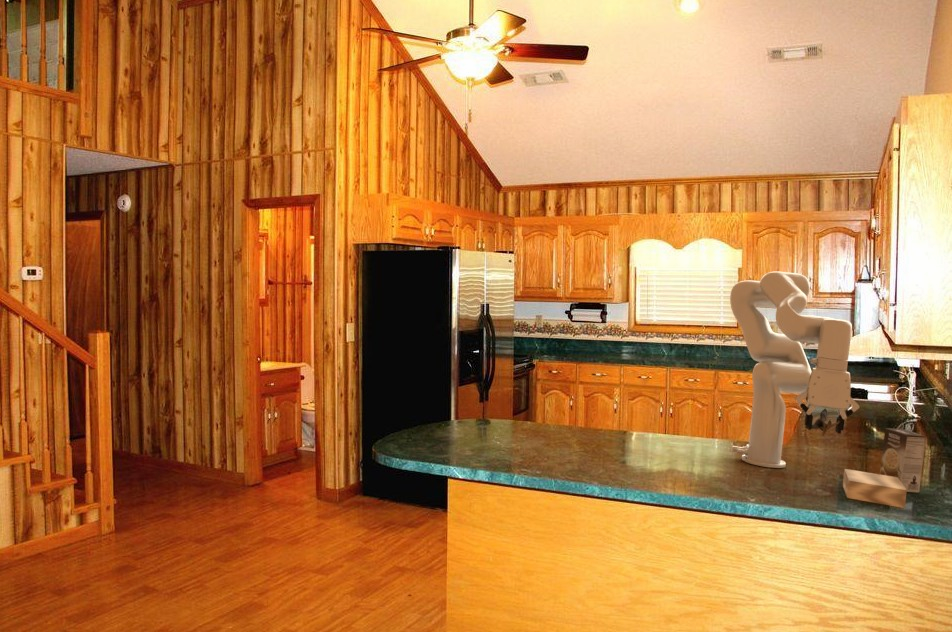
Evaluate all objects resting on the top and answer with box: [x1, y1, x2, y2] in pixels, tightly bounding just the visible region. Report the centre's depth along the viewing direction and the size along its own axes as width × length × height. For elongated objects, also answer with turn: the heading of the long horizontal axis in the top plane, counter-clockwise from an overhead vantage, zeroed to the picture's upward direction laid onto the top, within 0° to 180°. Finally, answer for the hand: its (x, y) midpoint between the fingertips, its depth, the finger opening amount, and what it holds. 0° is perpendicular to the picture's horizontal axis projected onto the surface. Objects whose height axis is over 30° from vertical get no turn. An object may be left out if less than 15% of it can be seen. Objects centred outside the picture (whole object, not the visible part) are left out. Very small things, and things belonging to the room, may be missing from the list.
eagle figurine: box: [804, 408, 840, 436], centre depth 193 cm, size 8×7×9 cm
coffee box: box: [879, 427, 927, 493], centre depth 200 cm, size 9×6×16 cm
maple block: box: [842, 468, 907, 509], centre depth 188 cm, size 13×15×5 cm
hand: (823, 430), depth 191 cm, fingers closed on eagle figurine, 6 cm apart
